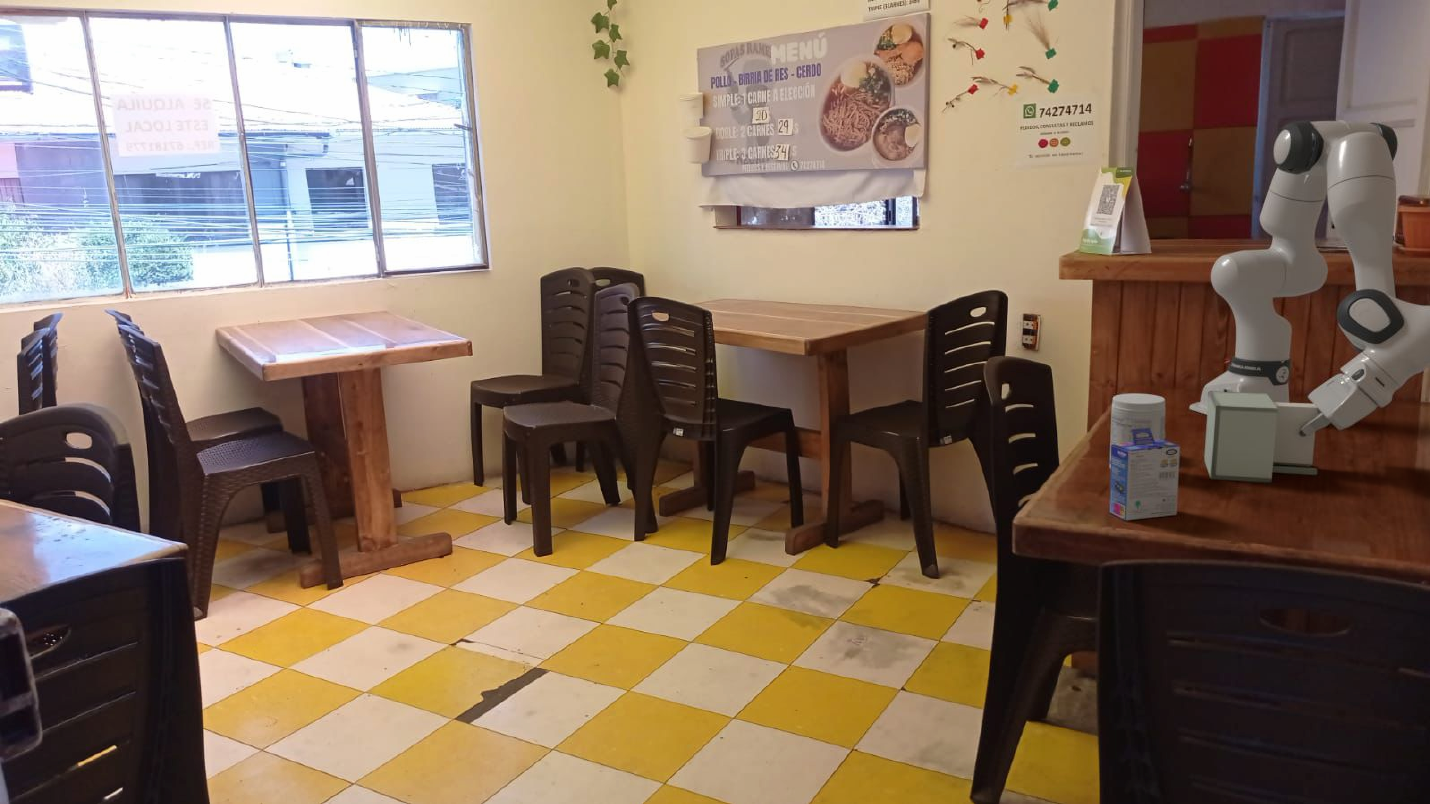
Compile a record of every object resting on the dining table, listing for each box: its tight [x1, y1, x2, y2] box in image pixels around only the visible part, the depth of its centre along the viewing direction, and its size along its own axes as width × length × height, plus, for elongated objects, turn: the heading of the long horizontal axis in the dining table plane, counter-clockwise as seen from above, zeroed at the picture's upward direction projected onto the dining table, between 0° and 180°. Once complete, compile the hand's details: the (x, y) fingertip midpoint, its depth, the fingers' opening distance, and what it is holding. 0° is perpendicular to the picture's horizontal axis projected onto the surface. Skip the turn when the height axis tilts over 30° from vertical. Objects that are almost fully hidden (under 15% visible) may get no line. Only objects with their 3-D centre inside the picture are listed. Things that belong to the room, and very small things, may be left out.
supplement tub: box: [1109, 392, 1166, 470], centre depth 189 cm, size 10×10×15 cm
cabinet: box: [1203, 391, 1318, 484], centre depth 186 cm, size 18×15×14 cm
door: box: [1273, 402, 1317, 465], centre depth 188 cm, size 7×4×11 cm, turn 68°
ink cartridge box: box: [1109, 428, 1181, 521], centre depth 165 cm, size 10×6×14 cm, turn 102°
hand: (1301, 429), depth 187 cm, fingers closed on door, 4 cm apart
